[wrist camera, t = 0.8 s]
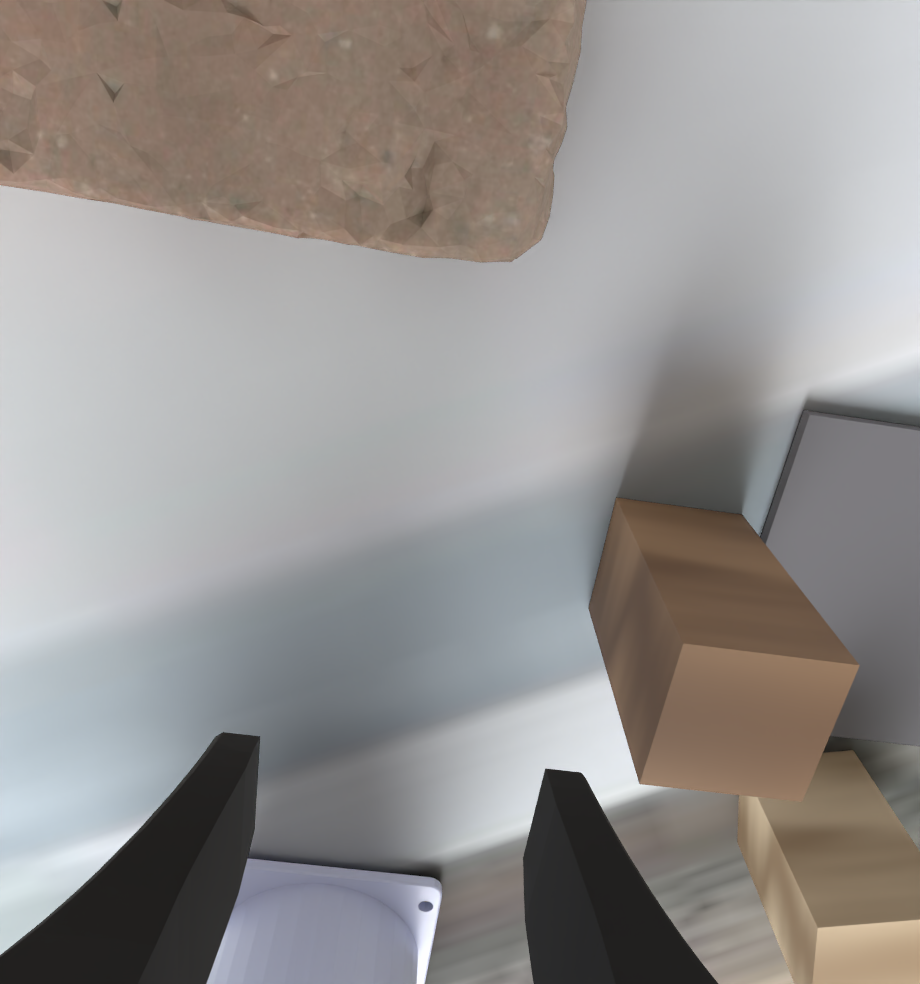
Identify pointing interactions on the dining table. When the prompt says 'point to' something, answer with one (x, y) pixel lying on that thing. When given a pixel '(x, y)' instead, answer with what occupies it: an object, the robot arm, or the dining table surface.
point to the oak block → (836, 878)
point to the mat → (858, 559)
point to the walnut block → (714, 654)
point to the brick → (298, 114)
